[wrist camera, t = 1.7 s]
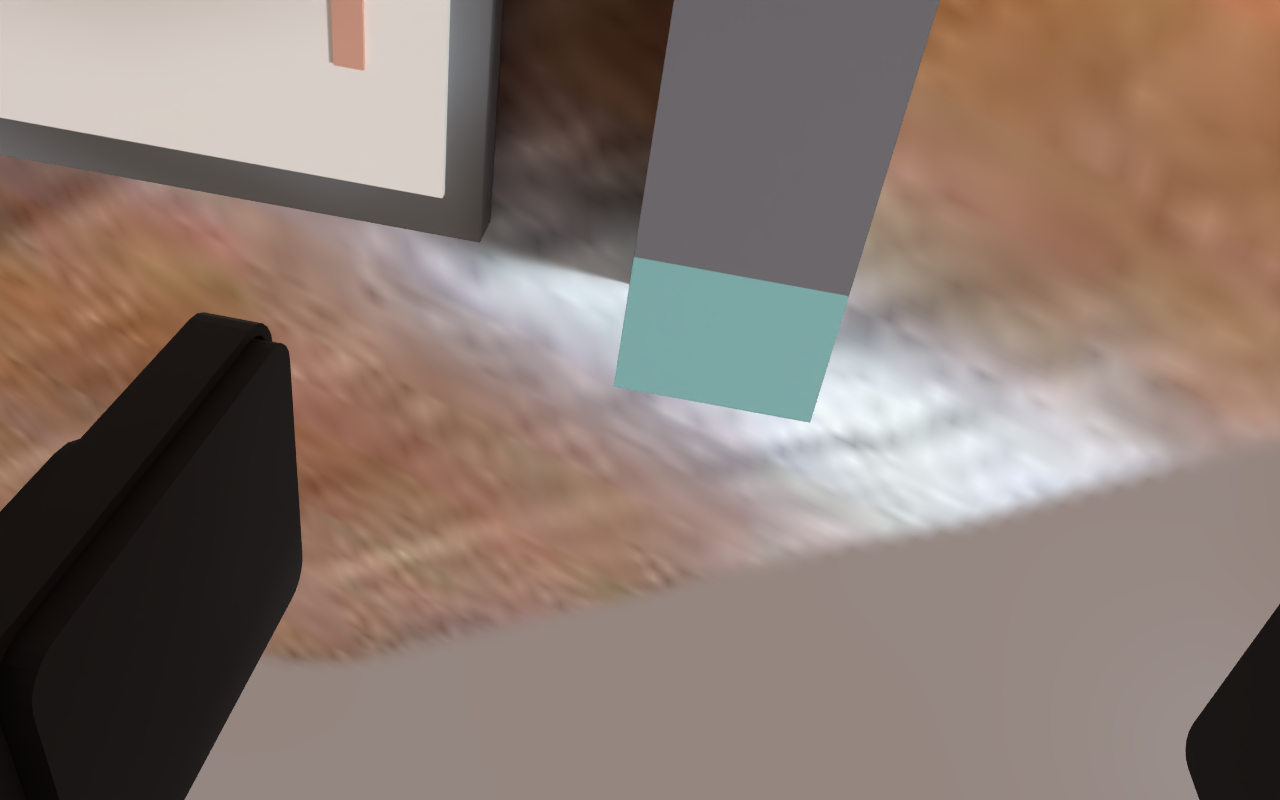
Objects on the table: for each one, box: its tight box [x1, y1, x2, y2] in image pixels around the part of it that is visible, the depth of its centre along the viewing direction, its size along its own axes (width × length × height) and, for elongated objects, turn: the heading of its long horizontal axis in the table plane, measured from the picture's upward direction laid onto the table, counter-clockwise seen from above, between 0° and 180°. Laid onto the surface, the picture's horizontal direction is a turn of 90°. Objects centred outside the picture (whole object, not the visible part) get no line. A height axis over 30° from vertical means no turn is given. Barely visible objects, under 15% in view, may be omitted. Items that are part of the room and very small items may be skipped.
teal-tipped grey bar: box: [614, 0, 939, 422], centre depth 18 cm, size 14×4×4 cm, turn 172°
